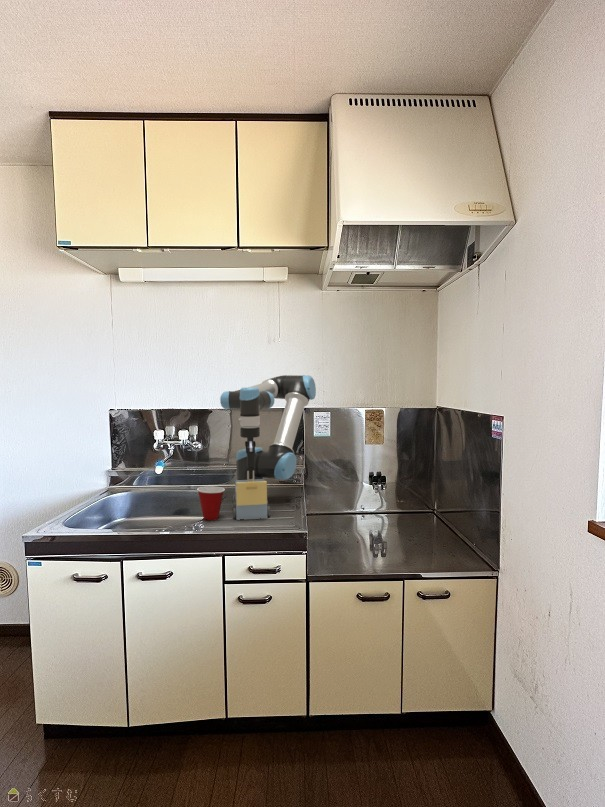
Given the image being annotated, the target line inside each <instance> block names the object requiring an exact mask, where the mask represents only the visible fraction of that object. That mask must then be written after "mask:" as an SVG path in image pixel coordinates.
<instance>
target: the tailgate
mask: <svg viewBox="0 0 605 807" xmlns="http://www.w3.org/2000/svg"><path fill="white" fill-rule="evenodd" d="M267 487H268V482H267V480H265V481H256V482H236V493H237V506H241V505H260V504H267V500H268V488H267Z"/></svg>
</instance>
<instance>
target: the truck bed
mask: <svg viewBox="0 0 605 807" xmlns="http://www.w3.org/2000/svg"><path fill="white" fill-rule="evenodd" d="M256 481H266V480H265V478H263V479H254V482H256ZM236 482H247V480H237V479H236V480H234V484H235V486H234V492H236ZM232 513H233V515H232V516H233V517H232V518H233V519H236V520H237V521H240V519H244V520H256V519H257V520H258V519H260V518H261V519H268V517H271V507H270V505H269V500H268V499H267V504H260V505H241V506H237V493H236V502H235V501H232ZM261 519H260V520H261Z"/></svg>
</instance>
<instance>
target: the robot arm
mask: <svg viewBox="0 0 605 807" xmlns="http://www.w3.org/2000/svg"><path fill="white" fill-rule="evenodd" d="M316 389H317V388H316V383H315V379H314V378H313V376H311V375H306V374H305V375H304V374H302V375H295V374H294V375H293V374H291V375H287V374H285V375H279V376H275V377H272V378H271V377H270V378H268V379H265V380H263V381H262V382H261V383H258V384H256V385H255V384H254V385H251V386H248V387H241V388H240V389H238V390H233V391H230V390H228V391H223V392H222V393H221V394H220V398H219V401H220V406H221V407H222V408H223V409H224V410H239V412H240V415H239V416H240V417H239V418H238V421H239V425H240V428H239V430H240V433H239V434H240V438H243V439H244V438H245V439H246V440H245V441H244V445H245V446H244V447H245V448H243V449H239V450H238V451H237V452H236V459H235V461H236V480H247V482H254V479H270V480H271V479H272V480H273V479H274V480H279V481H280V480H288V479H290V478H291V477H293V475H294V473H295V471H296V468H297V463H298V462H297V461H298V460H297V456H296V454H295V451H294V449H293V447H294V443H295V440H296V437H297V433H298V429H299V426H300V423H301V419H302V415H303V412H304V410H305V407H307V406H308V405H309V403H310V401H311V400H314V399H315V398H316V395H317V390H316ZM275 399H276V400H277V399H279V400H285V401H286V403H285V406H284V408H283V412H282V415H281V420H280V423H279V425H278V429H277V432H276V435H275V438H274V441H273V443H272V444H270V445H269V446H268V449H267V451H264V449H263V447H262V446H261V447H260V446H258V447H257V444H256V441H255V440H254V438H259V437H260V431H261V430H260V427H259V426H260V425H261V424H260V423H261V422H260V418H261V417H260V411H264V410H265V411H266V410H267V411H268V410H269V409H271V408H272V407H273V406H274V404H275ZM232 498H233V499H232V500H233V502H236V492H235V491H234V493H233V496H232Z"/></svg>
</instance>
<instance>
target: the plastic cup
mask: <svg viewBox="0 0 605 807" xmlns="http://www.w3.org/2000/svg"><path fill="white" fill-rule="evenodd" d="M196 490H197V493H198V497H199V501H200V502H199V503H200V508H201V513H202V517H203V519H204V520H205V521H216V520H218V519H219V518H218V517H220V511H221V506H222V498H223V495H224V492H225V491H226V489H225V487H222V486H221V487H220V486H212V485H211V486H210V485H209V486H200V487H198V488H197V489H196ZM217 518H218V519H217ZM206 519H207V520H206ZM215 519H216V520H215Z"/></svg>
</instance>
